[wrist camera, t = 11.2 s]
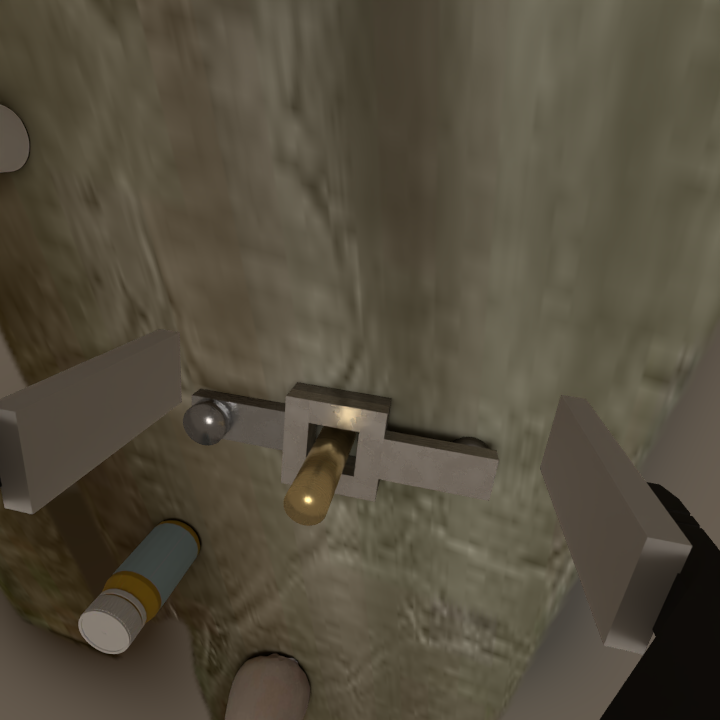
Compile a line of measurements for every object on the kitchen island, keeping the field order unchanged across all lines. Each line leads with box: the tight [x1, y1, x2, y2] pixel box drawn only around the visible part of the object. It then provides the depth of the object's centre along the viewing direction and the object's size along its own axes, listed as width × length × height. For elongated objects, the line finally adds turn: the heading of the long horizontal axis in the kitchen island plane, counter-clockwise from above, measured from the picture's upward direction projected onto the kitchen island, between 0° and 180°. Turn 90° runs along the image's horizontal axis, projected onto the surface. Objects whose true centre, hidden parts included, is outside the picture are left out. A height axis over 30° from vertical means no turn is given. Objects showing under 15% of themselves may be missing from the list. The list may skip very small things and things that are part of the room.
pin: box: [284, 426, 356, 526], centre depth 47 cm, size 4×4×14 cm
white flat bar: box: [183, 382, 499, 502], centre depth 52 cm, size 11×35×4 cm, turn 84°
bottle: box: [79, 520, 200, 654], centre depth 56 cm, size 7×7×15 cm
